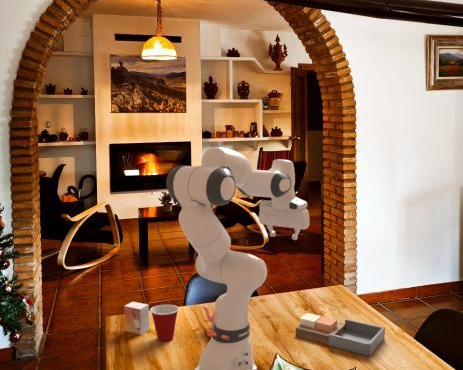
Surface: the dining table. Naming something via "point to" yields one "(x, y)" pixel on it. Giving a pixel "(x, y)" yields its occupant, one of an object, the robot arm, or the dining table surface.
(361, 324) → the box
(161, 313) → the plastic cup
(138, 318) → the small box
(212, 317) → the pink branching coral
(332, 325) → the tile front
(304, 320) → the tile rear
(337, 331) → the plate
